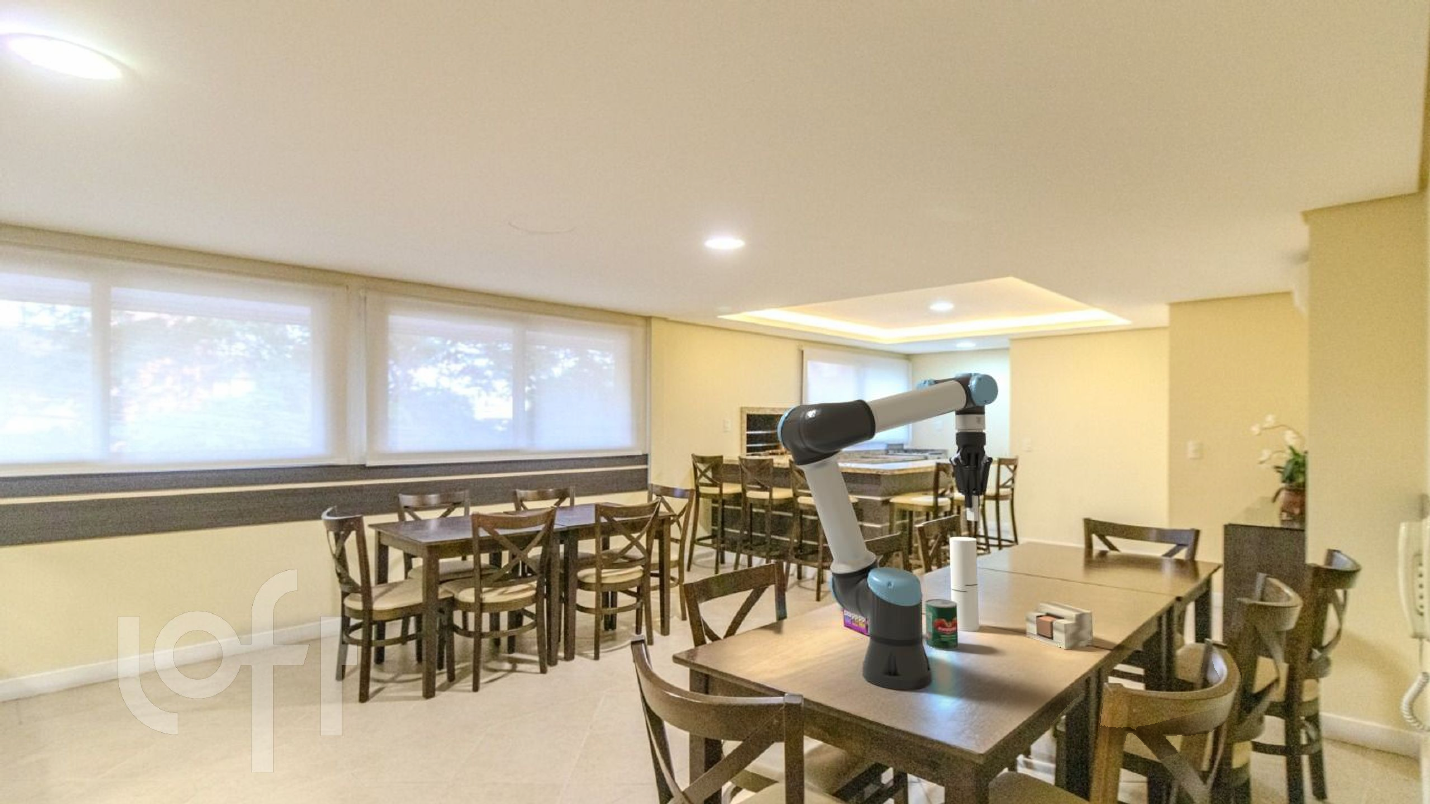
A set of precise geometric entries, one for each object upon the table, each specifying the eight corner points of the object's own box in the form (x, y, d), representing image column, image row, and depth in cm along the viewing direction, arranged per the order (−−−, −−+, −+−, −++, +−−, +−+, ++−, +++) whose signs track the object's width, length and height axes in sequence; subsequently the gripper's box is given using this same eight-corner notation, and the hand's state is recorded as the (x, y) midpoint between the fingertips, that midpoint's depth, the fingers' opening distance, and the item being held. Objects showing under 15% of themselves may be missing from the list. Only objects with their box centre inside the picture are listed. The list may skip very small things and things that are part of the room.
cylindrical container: (983, 631, 181) (980, 540, 182) (957, 631, 181) (954, 540, 183) (973, 624, 188) (970, 536, 190) (948, 624, 188) (946, 537, 190)
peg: (1050, 637, 168) (1049, 621, 169) (1037, 633, 172) (1036, 617, 172) (1078, 632, 172) (1077, 617, 172) (1064, 628, 176) (1064, 613, 176)
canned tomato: (946, 652, 164) (945, 608, 164) (919, 644, 170) (918, 602, 171) (964, 646, 168) (963, 603, 169) (938, 639, 175) (937, 597, 175)
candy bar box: (881, 634, 180) (880, 573, 180) (867, 636, 177) (865, 575, 178) (856, 623, 190) (855, 566, 191) (842, 625, 188) (841, 568, 188)
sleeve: (1065, 649, 165) (1063, 616, 165) (1026, 636, 176) (1025, 605, 176) (1093, 644, 169) (1091, 611, 169) (1053, 632, 180) (1052, 601, 180)
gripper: (961, 430, 168) (963, 523, 166) (1000, 431, 172) (1002, 520, 171) (941, 431, 175) (943, 519, 173) (979, 431, 179) (981, 517, 178)
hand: (972, 520), depth 172 cm, fingers closed
